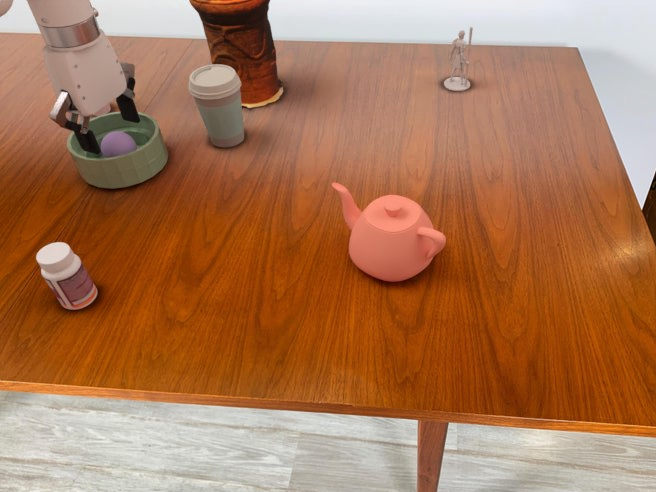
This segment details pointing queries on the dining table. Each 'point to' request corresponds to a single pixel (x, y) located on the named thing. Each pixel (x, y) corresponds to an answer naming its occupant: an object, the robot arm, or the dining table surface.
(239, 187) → the dining table surface
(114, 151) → the ball
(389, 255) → the teapot
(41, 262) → the pill bottle
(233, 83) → the coffee cup
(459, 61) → the figurine
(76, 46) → the robot arm
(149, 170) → the bowl
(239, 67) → the vessel
